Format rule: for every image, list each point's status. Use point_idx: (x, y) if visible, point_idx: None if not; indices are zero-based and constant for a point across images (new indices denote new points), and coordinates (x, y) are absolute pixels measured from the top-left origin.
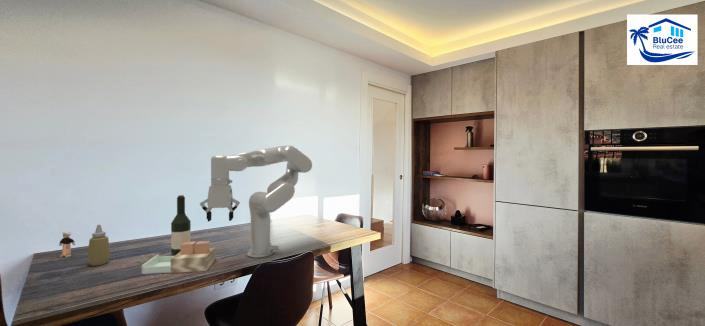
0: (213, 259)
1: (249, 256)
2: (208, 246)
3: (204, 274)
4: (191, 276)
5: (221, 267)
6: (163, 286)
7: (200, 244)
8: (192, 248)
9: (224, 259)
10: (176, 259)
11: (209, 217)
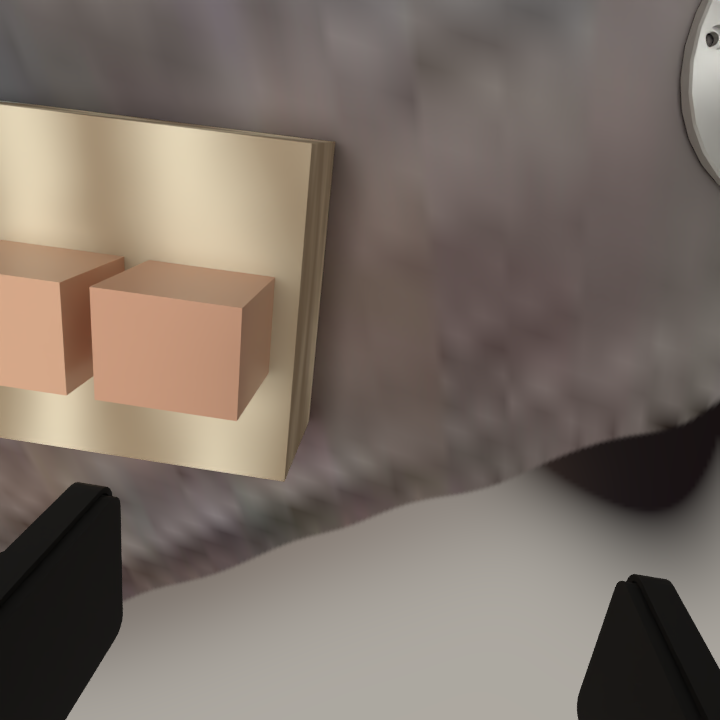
0: (323, 220)
1: (696, 153)
2: (253, 356)
3: (311, 487)
4: (230, 494)
5: (419, 380)
6: None
7: (159, 406)
8: (91, 372)
9: (425, 152)
10: (32, 438)
11: (72, 704)
